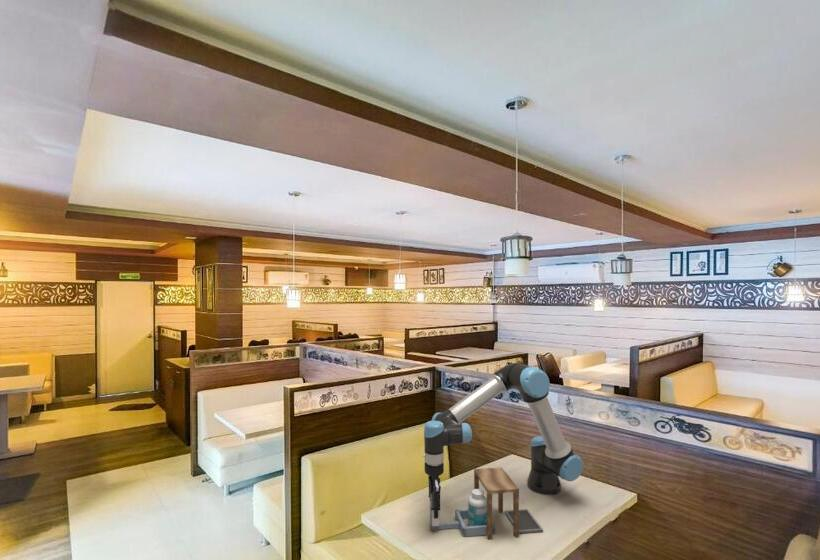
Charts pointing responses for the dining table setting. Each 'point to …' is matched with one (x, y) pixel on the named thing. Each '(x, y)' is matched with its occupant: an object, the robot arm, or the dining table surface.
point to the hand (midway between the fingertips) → (434, 522)
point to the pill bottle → (477, 508)
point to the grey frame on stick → (460, 524)
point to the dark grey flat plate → (525, 522)
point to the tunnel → (498, 483)
